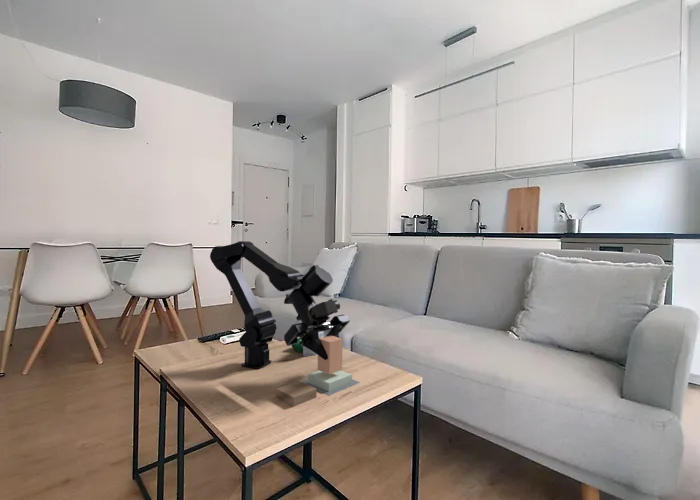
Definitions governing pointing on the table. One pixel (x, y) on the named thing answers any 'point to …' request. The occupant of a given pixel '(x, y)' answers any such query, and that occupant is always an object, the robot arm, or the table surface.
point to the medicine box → (307, 351)
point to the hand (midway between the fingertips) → (333, 357)
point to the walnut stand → (296, 393)
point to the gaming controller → (298, 346)
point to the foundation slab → (329, 379)
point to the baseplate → (332, 390)
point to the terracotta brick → (331, 355)
